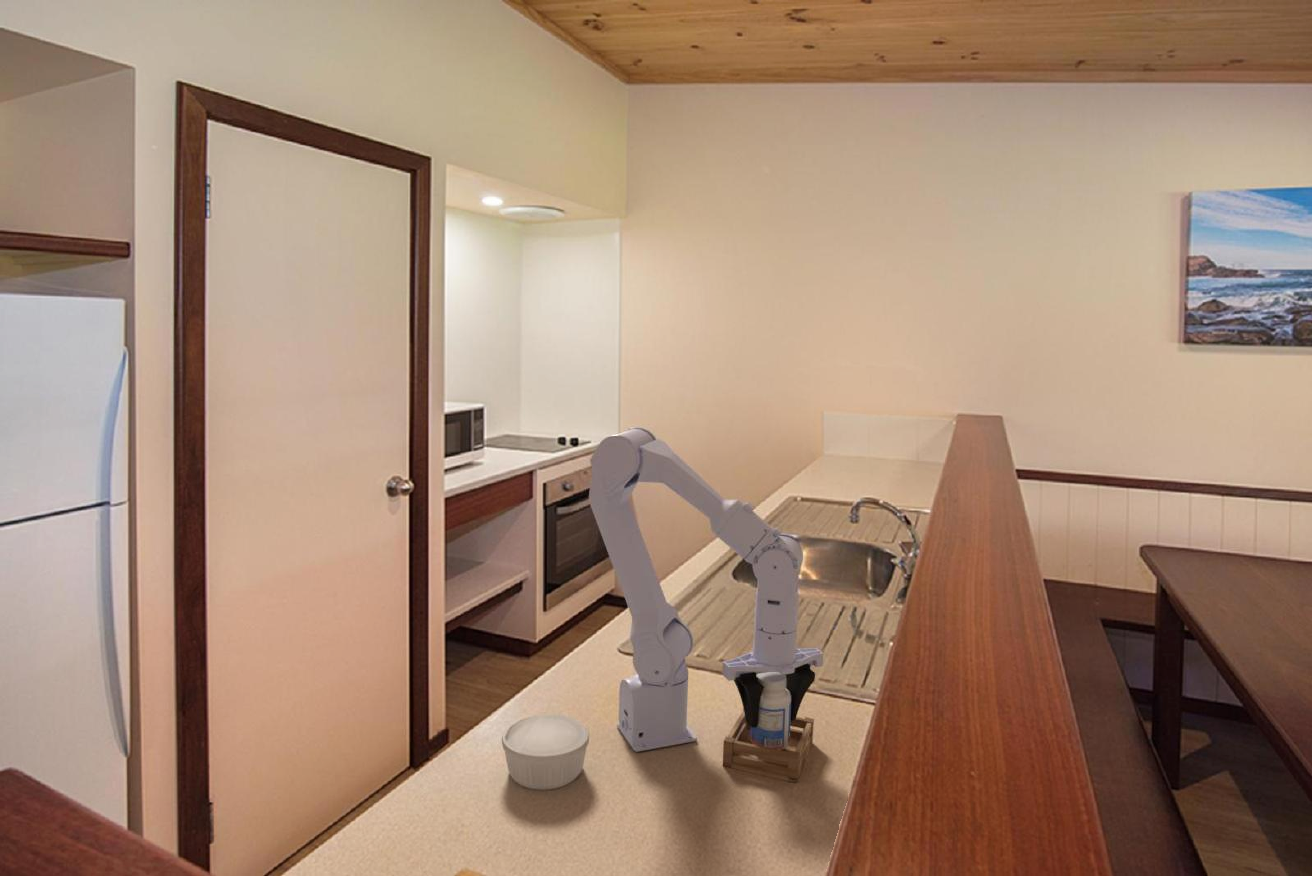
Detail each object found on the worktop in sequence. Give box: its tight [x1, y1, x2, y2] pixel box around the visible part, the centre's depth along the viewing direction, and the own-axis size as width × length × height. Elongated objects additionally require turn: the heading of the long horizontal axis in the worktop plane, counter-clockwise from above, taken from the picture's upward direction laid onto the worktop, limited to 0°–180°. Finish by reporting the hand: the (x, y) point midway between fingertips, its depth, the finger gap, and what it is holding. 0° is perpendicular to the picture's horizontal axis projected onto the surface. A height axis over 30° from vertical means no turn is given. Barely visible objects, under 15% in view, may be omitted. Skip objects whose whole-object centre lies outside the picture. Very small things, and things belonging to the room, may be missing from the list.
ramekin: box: [501, 713, 590, 791], centre depth 106 cm, size 11×11×5 cm
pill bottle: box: [751, 672, 791, 750], centre depth 111 cm, size 6×5×10 cm
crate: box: [722, 708, 815, 784], centre depth 111 cm, size 11×10×4 cm
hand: (770, 720), depth 111 cm, fingers closed on pill bottle, 5 cm apart
